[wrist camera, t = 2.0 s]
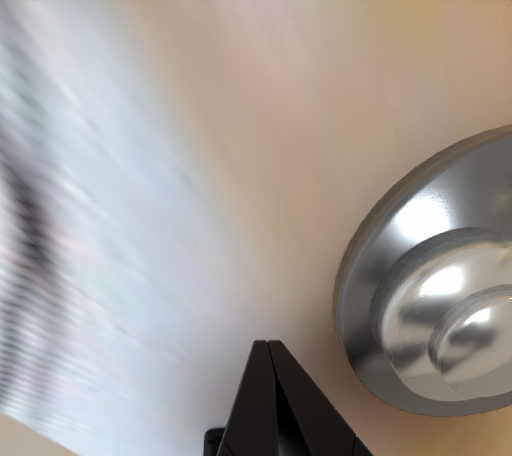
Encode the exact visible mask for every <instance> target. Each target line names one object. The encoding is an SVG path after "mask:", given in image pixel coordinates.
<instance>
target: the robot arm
mask: <svg viewBox="0 0 512 456" xmlns="http://www.w3.org/2000/svg"><path fill="white" fill-rule="evenodd" d="M203 456H373V455H372V454H371V452H370V451H369V450H368V449H367V447H366V446H365V445H364V444H363V442H362V441H361V440H360V439H359V438H358V437H356V434H355V433H354V431H353V430H352V429H351V428H350V426H349V425H348V424H347V423H346V421H345V420H344V419H343V418H342V416H341V415H340V414H339V413H338V411H337V410H336V409H335V408H334V407H333V405H332V404H331V403H330V402H329V400H328V399H327V398H326V397H325V395H324V394H323V393H322V392H321V390H320V389H319V388H318V387H317V385H316V384H315V383H314V382H313V380H312V379H311V378H310V377H309V375H308V374H307V373H306V372H305V370H304V369H303V368H302V367H301V365H300V364H299V363H298V362H297V360H296V359H295V358H294V357H293V355H292V354H291V353H290V352H289V350H288V349H287V348H286V347H285V345H284V344H283V343H282V342H281V341H280V340H269V341H266V340H255V341H254V342H253V345H252V348H251V351H250V354H249V357H248V360H247V364H246V367H245V370H244V373H243V376H242V379H241V382H240V385H239V388H238V391H237V394H236V398H235V401H234V404H233V407H232V410H231V413H230V416H229V419H228V422H227V425H226V429H219V430H209V431H207V432H206V433H205V436H204V455H203Z"/></svg>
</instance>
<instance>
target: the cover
mask: <svg viewBox="0 0 512 456" xmlns="http://www.w3.org/2000/svg"><path fill="white" fill-rule="evenodd" d="M369 326H370V329H371V333H372V335H373V337H374V339H375V341H376V342H377V344H378V345H379V347H380V348H381V350H382V352H383V353H384V355H385V356H386V358H387V359H388V361H389V362H390V364H391V366H392V367H393V369H394V370H395V372H396V373H397V375H398V376H399V378H400V379H401V381H402V382H403V383H404V385H406V386H407V387H408V388H409V389H410V390H411V391H413V392H415V393H416V394H418V395H420V396H423V397H425V398H429V399H433V400H439V401H463V400H469V399H475V398H479V397H490V396H496V395H500V394H504V393H507V392H510V391H512V236H509V235H507V234H505V233H502V232H500V231H497V230H494V229H491V228H484V227H464V228H456V229H452V230H448V231H445V232H442V233H439V234H437V235H434V236H432V237H430V238H428V239H426V240H424V241H422V242H420V243H419V244H417V245H415V246H414V247H412V248H411V249H410V250H408V251H407V252H406V253H404V254H403V255H402V256H401V257H400V258H399V259H398V260H396V261H395V262H394V263H393V264H392V266H391V267H390V268H389V269H388V270H387V271H386V273H385V274H384V276H383V277H382V279H381V280H380V281H379V283H378V285H377V287H376V289H375V291H374V294H373V296H372V299H371V303H370V308H369Z"/></svg>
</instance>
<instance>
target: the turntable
mask: <svg viewBox="0 0 512 456" xmlns="http://www.w3.org/2000/svg"><path fill="white" fill-rule="evenodd" d="M464 227H484V228H491V229H494V230H497V231H500V232H502V233H505V234H507V235H509V236H512V125H507V126H503V127H499V128H496V129H492V130H488V131H484V132H482V133H479V134H476V135H474V136H471V137H469V138H466V139H464V140H461V141H459V142H457V143H455V144H453V145H451V146H449V147H448V148H446V149H444V150H442V151H440V152H438V153H436V154H435V155H433V156H432V157H430V158H429V159H427V160H426V161H424V162H423V163H421V164H420V165H418V166H417V167H415V168H414V169H413V170H412V171H410V172H409V173H408V174H407V175H406V176H404V177H403V178H402V179H401V180H400V181H399V182H397V183H396V184H395V185H394V186H393V187H392V188H391V189H390V190H389V191H388V192H387V193H386V194H385V195H384V196H383V197H382V198H381V199H380V200H379V201H378V202H377V204H376V205H375V206H374V207H373V209H372V210H371V211H370V213H369V214H368V215H367V216H366V218H365V219H364V220H363V222H362V223H361V225H360V226H359V228H358V230H357V231H356V233H355V234H354V236H353V238H352V239H351V241H350V243H349V245H348V247H347V250H346V252H345V254H344V256H343V258H342V261H341V264H340V267H339V270H338V274H337V277H336V281H335V287H334V293H333V318H334V324H335V329H336V332H337V335H338V338H339V341H340V343H341V346H342V348H343V350H344V352H345V354H346V356H347V358H348V360H349V362H350V364H351V366H352V368H353V370H354V372H355V373H356V375H357V377H358V379H359V380H360V381H361V382H362V383H363V385H364V386H365V387H366V388H367V389H368V390H369V391H370V392H371V393H372V394H374V395H375V396H376V397H377V398H379V399H380V400H382V401H384V402H385V403H387V404H389V405H391V406H393V407H396V408H398V409H401V410H403V411H407V412H411V413H415V414H419V415H427V416H442V417H452V416H465V415H472V414H478V413H484V412H488V411H492V410H496V409H500V408H503V407H506V406H510V405H512V391H510V392H507V393H504V394H500V395H496V396H490V397H479V398H475V399H469V400H463V401H439V400H433V399H429V398H425V397H423V396H420V395H418V394H416V393H415V392H413V391H411V390H410V389H409V388H408V387H407V386H406V385H404V383H403V382H402V381H401V379H400V378H399V376H398V375H397V373H396V372H395V370H394V369H393V367H392V366H391V364H390V362H389V361H388V359H387V358H386V356H385V355H384V353H383V352H382V350H381V348H380V347H379V345H378V344H377V342H376V341H375V339H374V337H373V335H372V333H371V329H370V326H369V308H370V303H371V299H372V296H373V294H374V291H375V289H376V287H377V285H378V283H379V281H380V280H381V279H382V277H383V276H384V274H385V273H386V271H387V270H388V269H389V268H390V267H391V266H392V264H393V263H394V262H395V261H396V260H398V259H399V258H400V257H401V256H402V255H403V254H404V253H406V252H407V251H408V250H410V249H411V248H412V247H414V246H415V245H417V244H419V243H420V242H422V241H424V240H426V239H428V238H430V237H432V236H434V235H437V234H439V233H442V232H445V231H448V230H452V229H456V228H464Z"/></svg>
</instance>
